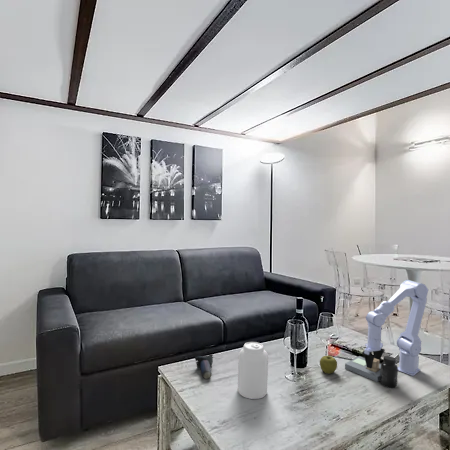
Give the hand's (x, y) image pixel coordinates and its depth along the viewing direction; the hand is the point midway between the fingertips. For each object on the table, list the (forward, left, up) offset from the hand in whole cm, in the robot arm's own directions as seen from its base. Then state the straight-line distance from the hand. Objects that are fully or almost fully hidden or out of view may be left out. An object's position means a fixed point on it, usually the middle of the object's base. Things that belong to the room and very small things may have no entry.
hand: (373, 365), depth 153 cm
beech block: (0, 0, -4) cm, 4 cm away
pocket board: (-1, -3, -4) cm, 5 cm away
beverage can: (+63, -48, -5) cm, 80 cm away
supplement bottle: (+4, +9, -4) cm, 11 cm away
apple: (+16, -14, -4) cm, 22 cm away
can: (+57, -24, -4) cm, 62 cm away
